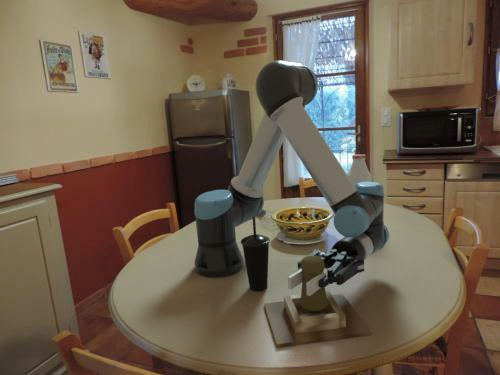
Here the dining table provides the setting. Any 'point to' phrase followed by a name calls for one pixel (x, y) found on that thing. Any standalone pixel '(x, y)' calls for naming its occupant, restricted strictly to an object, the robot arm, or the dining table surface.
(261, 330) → the dining table surface
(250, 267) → the drinking cup
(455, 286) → the dining table surface
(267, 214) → the kitchen whisk
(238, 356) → the dining table surface
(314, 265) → the olive green peg doll
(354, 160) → the fruit juice
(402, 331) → the dining table surface
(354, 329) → the well board
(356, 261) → the robot arm
